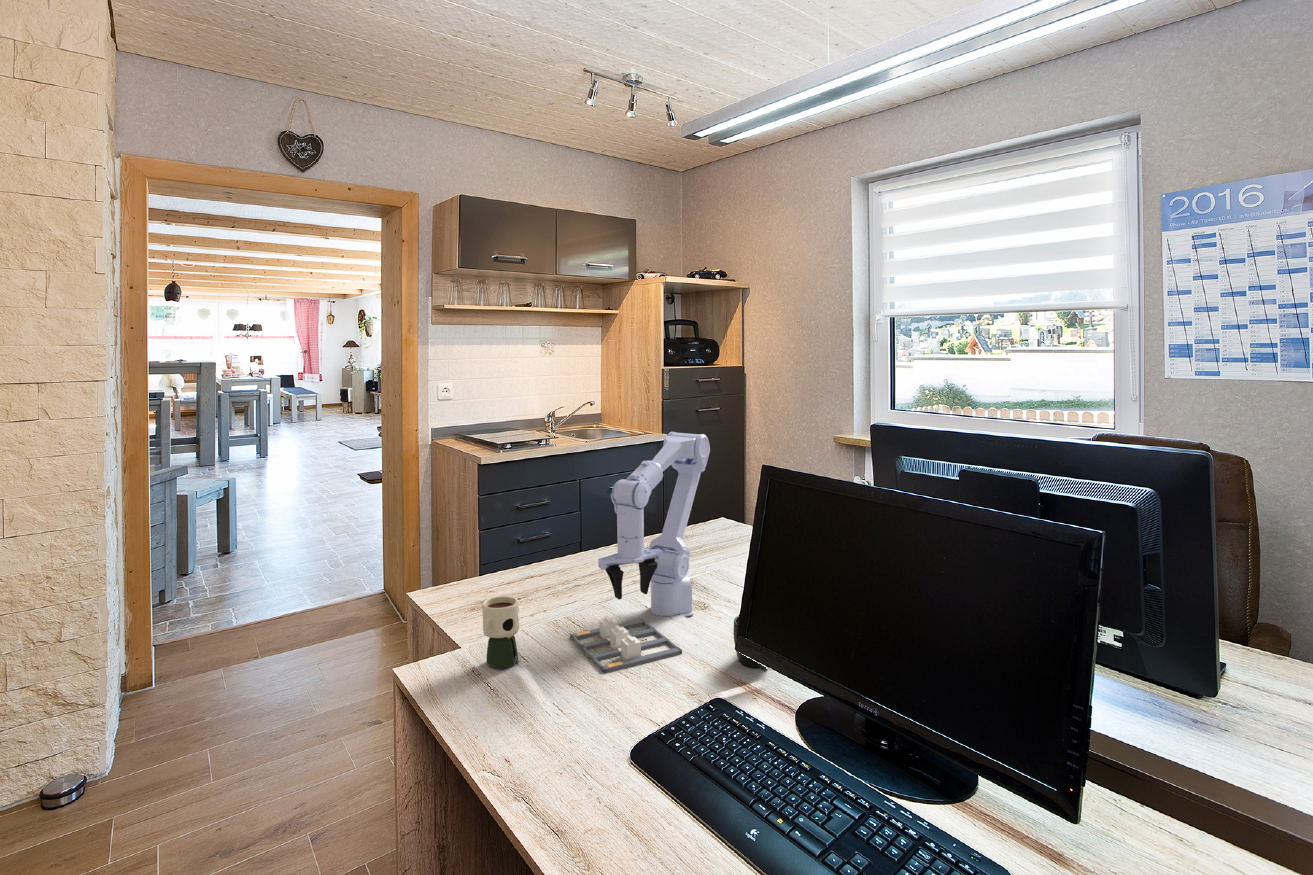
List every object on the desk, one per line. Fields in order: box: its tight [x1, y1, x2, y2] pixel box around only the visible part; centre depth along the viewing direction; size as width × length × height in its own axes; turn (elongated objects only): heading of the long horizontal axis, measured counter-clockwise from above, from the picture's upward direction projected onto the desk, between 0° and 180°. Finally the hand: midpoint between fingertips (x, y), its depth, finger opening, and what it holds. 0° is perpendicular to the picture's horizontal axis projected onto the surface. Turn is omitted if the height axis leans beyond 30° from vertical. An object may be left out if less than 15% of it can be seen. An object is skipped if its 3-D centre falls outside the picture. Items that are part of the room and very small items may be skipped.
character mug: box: [481, 595, 521, 669], centre depth 135 cm, size 11×7×13 cm, turn 158°
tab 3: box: [620, 635, 642, 660], centre depth 136 cm, size 3×3×4 cm
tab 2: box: [609, 625, 630, 649], centre depth 141 cm, size 3×3×4 cm
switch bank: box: [569, 618, 683, 674], centre depth 141 cm, size 17×18×2 cm
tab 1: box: [598, 615, 619, 639], centre depth 145 cm, size 3×3×4 cm
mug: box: [733, 615, 768, 672], centre depth 135 cm, size 8×12×10 cm
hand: (631, 595), depth 147 cm, fingers open, 6 cm apart
